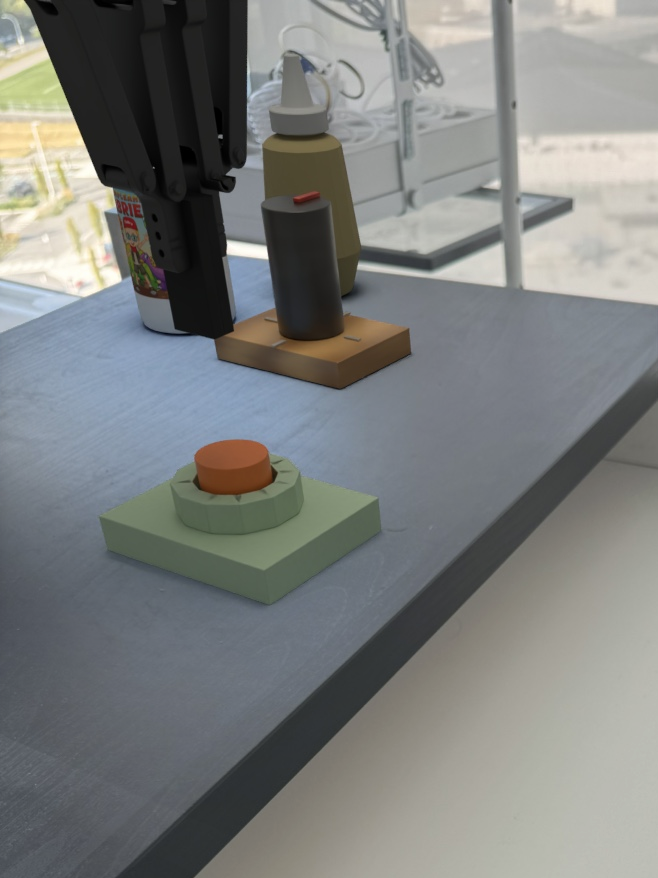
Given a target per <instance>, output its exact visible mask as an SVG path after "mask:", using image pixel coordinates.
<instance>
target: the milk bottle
mask: <svg viewBox="0 0 658 878" xmlns="http://www.w3.org/2000/svg"><path fill="white" fill-rule="evenodd" d="M153 168H154V167H153ZM112 193H113V198H114V203H115V207H116V212H117V218H118V222H119V227H120V231H121V236H122V242H123V245H124V250H125V255H126V261H127V264H128V269H129V273H130V278H131V282H132V286H133V292H134V296H135V301H136V305H137V309H138V314H139V318H140V320H141V321H142V323H143V324H144V326H145V327H146V328H149V329H150V330H153V331H156V332H160V333H165V334H166V333H167V334H188V333H187V332H183V331H179V330H175V328H174V323H173V318H172V313H171V308H170V302H169V297H168V292H167V287H166V282H165V277H164V272H163V269H159V268H157V266H156V264H155V263H154V261H153V259H152V254H151V249H150V247H151V246H150V244H149V239H148V238H149V236H148V234H147V229H146V224H145V219H144V214H143V209H142V205H141V202H140V200H139V198H138V197H137V196H136V195H135V194H134V193H130V192H126V191H123V190H119V189H115V188H112ZM222 259H223V265H224V271H225V277H226V283H227V289H228V296H229V302H230V308H231V314H232V320H233V321H234V320H235V317H236V313H237V308H236V301H235V294H234V288H233V282H232V281H233V280H232V276H231V270H230V264H229V258H228V252H227V253H226V256H225V257H222Z"/></svg>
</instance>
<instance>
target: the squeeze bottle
mask: <svg viewBox="0 0 658 878" xmlns="http://www.w3.org/2000/svg"><path fill="white" fill-rule="evenodd" d="M327 109H328V108H327V107H326V106H325V105H322V104H319V103H314V102H313V99H312V95H311V92H310V88H309V84H308V81H307V78H306V75H305V71H304V68H303V65H302V62H301V59H300V55H299V54H296V53H295V54H293V53H292V54H291V53H288V54H284V55H283V63H282V77H281V94H280V103H279V104H274V105H272V106H270V107H268V114H269V122H270V129H271V131H272V132H273V134H271V135H270V136H268V137H267V138H266V139H265V140H264V141H263V143H262V144H261V149H262V150H261V151H262V169H263V171H262V172H263V187H264V189H263V190H264V191H263V192H264V200H267V199H269V198H273V197H278V196H285V195H304V194H307V193H310V192H313V191H316V192H320V197H323V198H326V199H328V200H329V201H330V202H331V209H332V218H333V227H334V236H335V245H336V254H337V263H338V272H339V281H340V290H341V297H343V296H344V295H347V294H349V293H351V292H352V290H353V289H354V285H355V280H356V276H357V271H358V268H359V267H358V266H359V262H360V256H361V252H362V243H361V239H360V234H359V233H360V231H359V227H358V223H357V218H356V217H357V216H356V213H355V207H354V202H353V197H352V191H351V187H350V186H351V185H350V181H349V175H348V170H347V164H346V159H345V155H344V148H343V144H342V142H341V141H340V140H339V139H338V138H337V137H336V136H335V135H333V134H330V133H327V131H329V129H330V128H329V118H328V110H327Z"/></svg>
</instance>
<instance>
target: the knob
mask: <svg viewBox="0 0 658 878" xmlns="http://www.w3.org/2000/svg"><path fill="white" fill-rule="evenodd" d="M260 211H261V218H262V225H263V231H264V238H265V239H264V240H265V245H266V252H267V259H268V266H269V271H270V272H269V274H270V280H271V286H272V287H271V288H272V293H273V294H272V295H273V300H274V308H276V315H277V322H278V328H279V332H280V333H281V334H282V335H283V336H285V337H288V338H292V339H298V340H319V339H325V338H330V337H333V336H336V335H338V334H340V333H342V332H343V330H344V328H345V327H344V318H343V313H344V310H343V309H344V308H343V300H342V299H343V298H342V296H341V290H340V281H339V272H338V263H337V254H336V245H335V236H334V227H333V218H332V209H331V202H330V201H329V200H328V199H326V198H323V197H320V192H316V191H313V192H310V193H307V194H304V195H285V196H278V197H273V198H269V199H267V200H265V199H264V200H263V201H261V203H260Z"/></svg>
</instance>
